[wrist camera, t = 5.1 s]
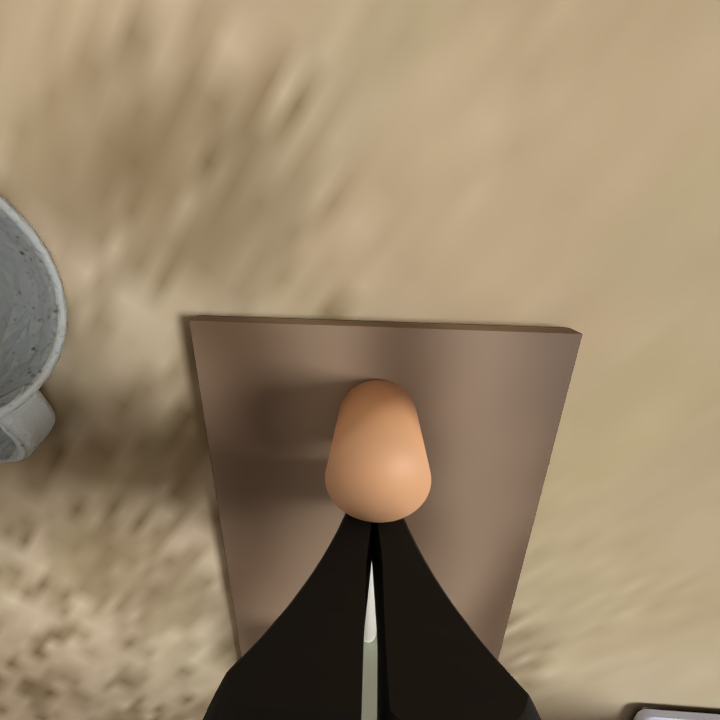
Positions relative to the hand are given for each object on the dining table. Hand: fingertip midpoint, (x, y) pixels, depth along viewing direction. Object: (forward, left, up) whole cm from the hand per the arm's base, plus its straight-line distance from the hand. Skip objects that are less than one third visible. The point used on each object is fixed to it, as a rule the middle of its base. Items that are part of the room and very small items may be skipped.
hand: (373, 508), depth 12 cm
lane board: (0, +10, -2) cm, 10 cm away
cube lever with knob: (0, +5, -1) cm, 5 cm away
